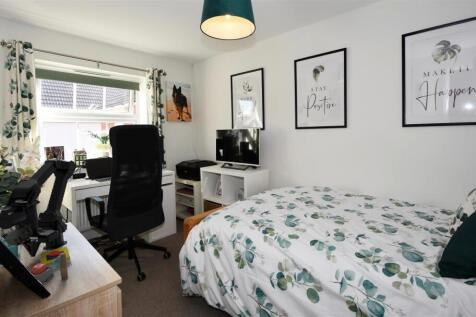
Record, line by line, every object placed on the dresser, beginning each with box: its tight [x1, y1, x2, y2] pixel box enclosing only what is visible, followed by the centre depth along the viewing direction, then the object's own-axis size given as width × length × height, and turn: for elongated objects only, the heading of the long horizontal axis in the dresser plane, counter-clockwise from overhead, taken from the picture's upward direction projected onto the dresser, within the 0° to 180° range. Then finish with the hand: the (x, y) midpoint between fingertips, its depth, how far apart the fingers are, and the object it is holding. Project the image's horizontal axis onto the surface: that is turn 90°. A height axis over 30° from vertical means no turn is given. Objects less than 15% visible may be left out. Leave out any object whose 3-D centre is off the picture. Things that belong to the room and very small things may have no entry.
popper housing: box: [30, 266, 55, 285], centre depth 89 cm, size 5×5×4 cm
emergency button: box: [39, 246, 73, 271], centre depth 102 cm, size 9×4×15 cm
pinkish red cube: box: [31, 263, 46, 275], centre depth 89 cm, size 4×4×4 cm
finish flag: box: [52, 253, 69, 281], centre depth 88 cm, size 5×2×9 cm, turn 176°
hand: (33, 256), depth 102 cm, fingers closed
